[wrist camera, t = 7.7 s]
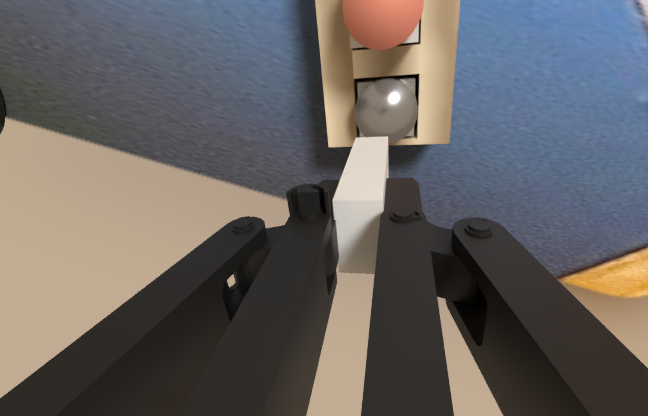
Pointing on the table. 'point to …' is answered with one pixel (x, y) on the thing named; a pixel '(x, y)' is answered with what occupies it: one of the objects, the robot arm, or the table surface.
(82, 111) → the table surface
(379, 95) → the plug
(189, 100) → the table surface
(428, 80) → the housing
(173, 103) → the table surface
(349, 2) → the plug red
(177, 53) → the table surface
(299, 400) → the robot arm
